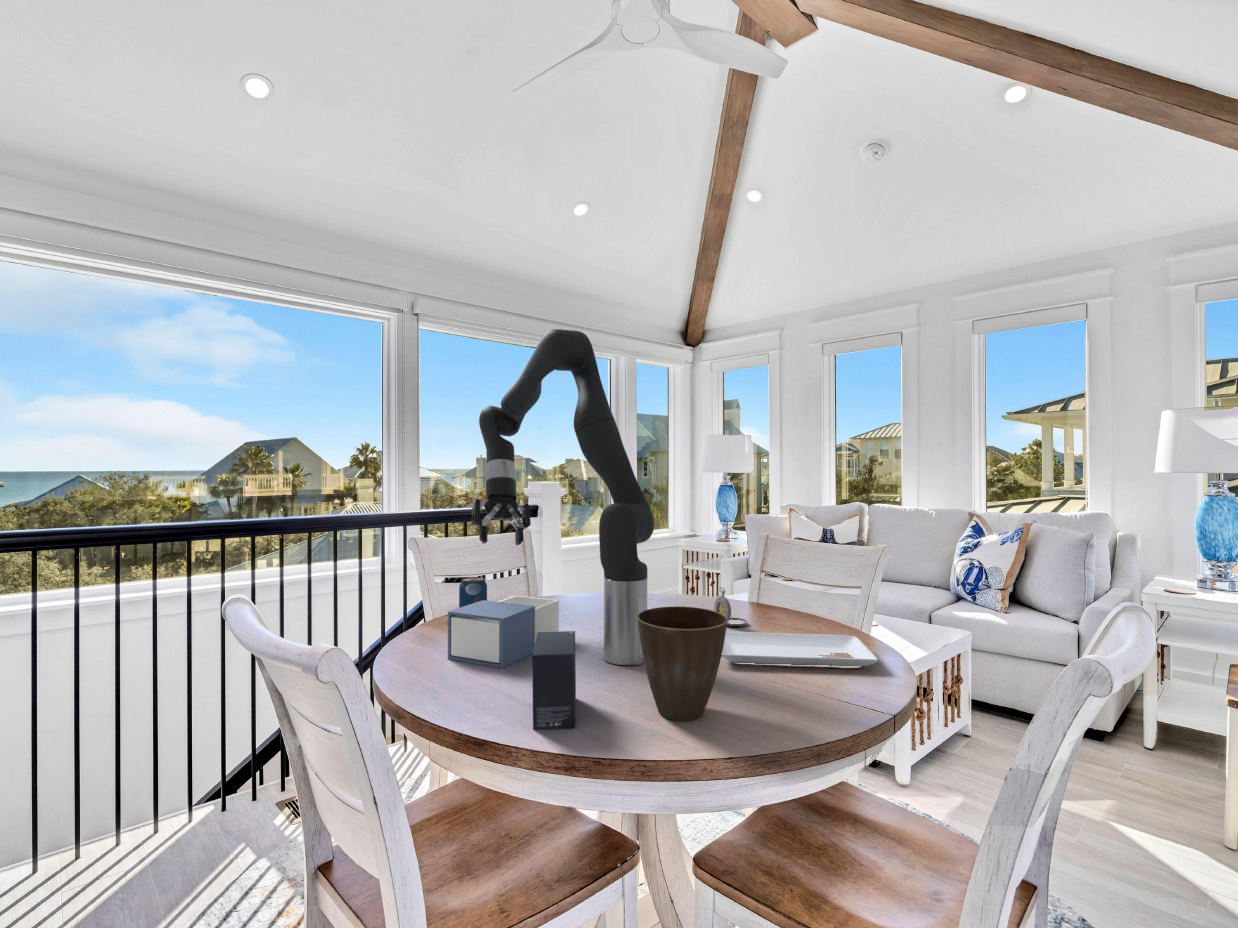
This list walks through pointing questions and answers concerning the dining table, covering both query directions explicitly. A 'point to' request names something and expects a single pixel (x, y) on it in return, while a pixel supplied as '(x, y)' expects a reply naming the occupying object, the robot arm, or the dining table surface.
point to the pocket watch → (726, 609)
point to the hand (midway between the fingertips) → (501, 543)
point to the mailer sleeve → (501, 629)
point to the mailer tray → (498, 629)
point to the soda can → (472, 591)
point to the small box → (554, 681)
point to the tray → (795, 649)
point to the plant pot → (681, 657)
